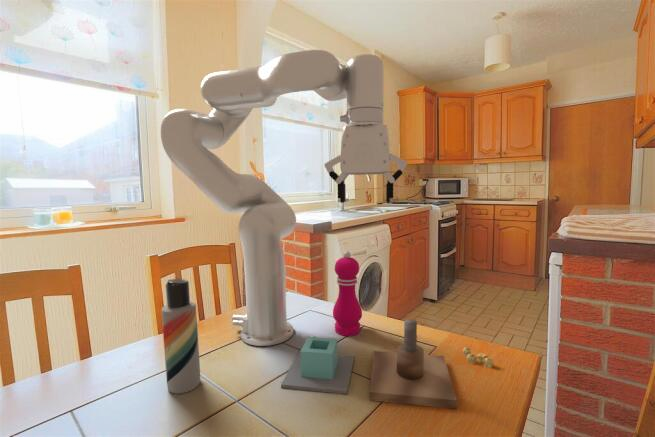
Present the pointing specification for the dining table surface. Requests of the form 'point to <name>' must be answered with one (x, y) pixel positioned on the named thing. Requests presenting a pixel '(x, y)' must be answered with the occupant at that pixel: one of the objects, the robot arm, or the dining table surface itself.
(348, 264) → the pepper mill
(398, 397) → the stand
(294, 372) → the mat
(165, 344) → the lotion bottle
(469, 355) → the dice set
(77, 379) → the dining table surface
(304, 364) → the collar
